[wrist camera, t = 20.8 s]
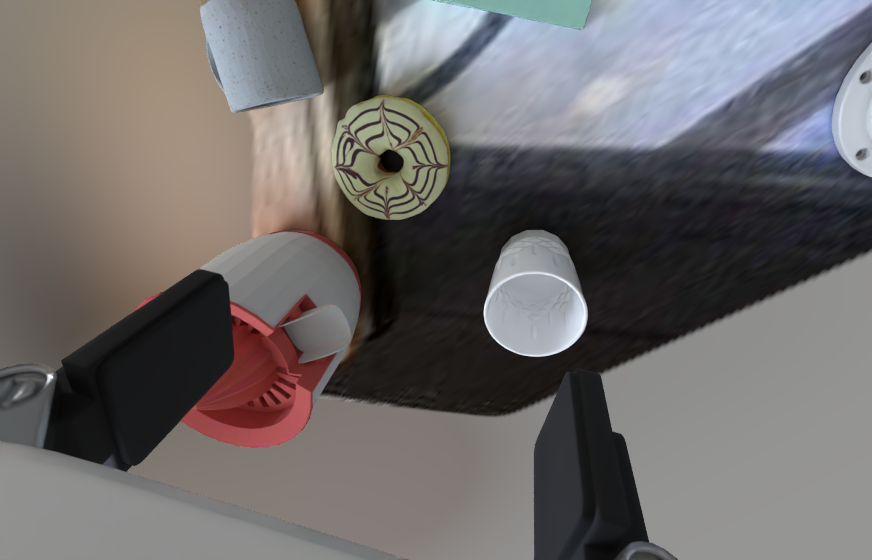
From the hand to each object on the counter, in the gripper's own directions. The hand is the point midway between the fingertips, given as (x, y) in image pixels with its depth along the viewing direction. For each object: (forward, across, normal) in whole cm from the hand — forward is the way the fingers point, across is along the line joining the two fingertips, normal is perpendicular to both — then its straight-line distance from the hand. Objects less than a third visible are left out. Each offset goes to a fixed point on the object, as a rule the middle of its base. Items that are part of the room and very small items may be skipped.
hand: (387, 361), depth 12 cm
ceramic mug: (+31, +20, -3) cm, 37 cm away
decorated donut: (+31, +8, +3) cm, 32 cm away
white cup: (+31, -7, +10) cm, 33 cm away
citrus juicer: (+31, +15, +18) cm, 38 cm away
